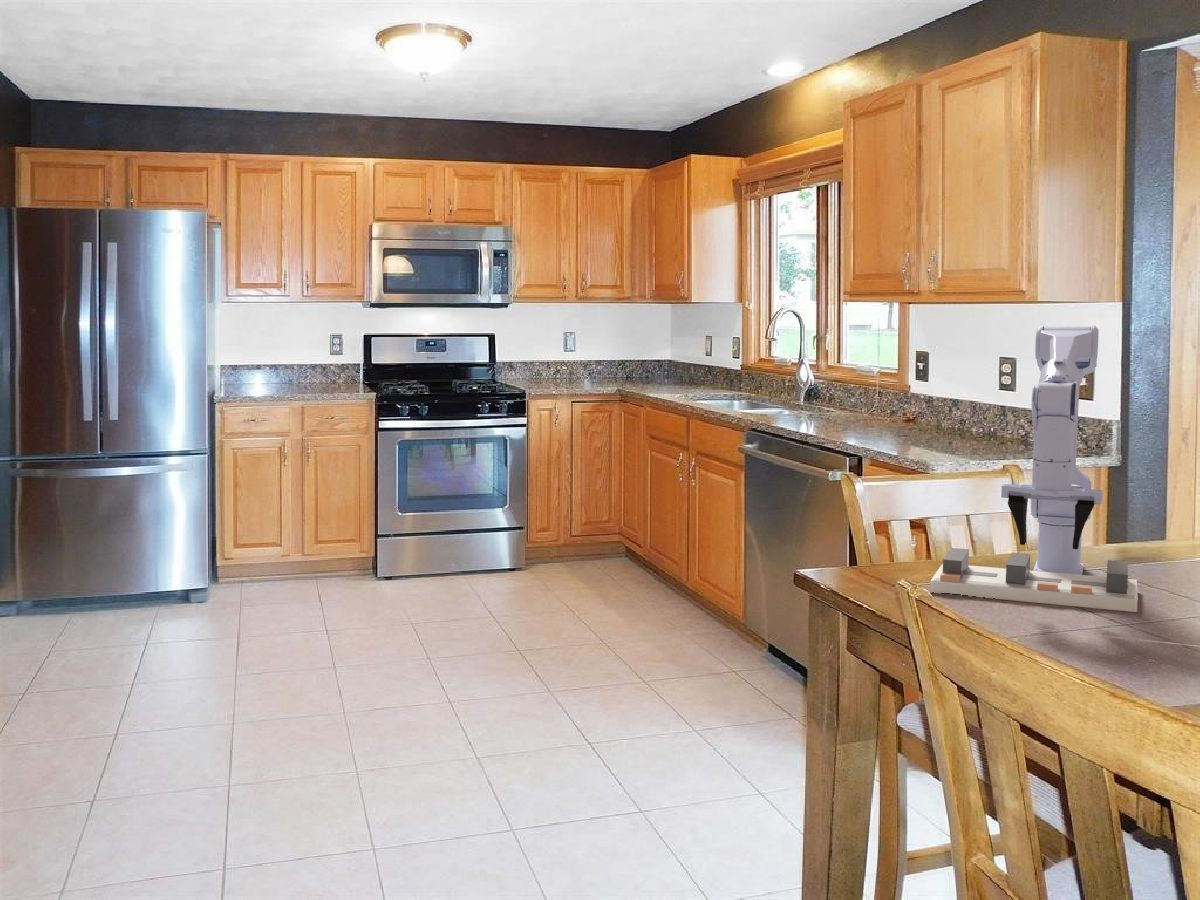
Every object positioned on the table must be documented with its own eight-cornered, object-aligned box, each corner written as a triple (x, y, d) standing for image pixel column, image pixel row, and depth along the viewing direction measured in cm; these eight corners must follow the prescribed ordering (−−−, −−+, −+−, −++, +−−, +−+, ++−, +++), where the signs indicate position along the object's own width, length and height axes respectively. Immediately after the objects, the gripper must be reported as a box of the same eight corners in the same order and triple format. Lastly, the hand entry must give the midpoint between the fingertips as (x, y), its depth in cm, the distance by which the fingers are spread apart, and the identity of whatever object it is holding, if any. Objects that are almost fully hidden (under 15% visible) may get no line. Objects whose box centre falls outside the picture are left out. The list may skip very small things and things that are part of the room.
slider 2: (1106, 577, 185) (1107, 560, 184) (1126, 579, 183) (1127, 561, 183) (1105, 591, 176) (1106, 573, 175) (1126, 593, 174) (1127, 574, 174)
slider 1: (950, 564, 195) (951, 547, 195) (968, 566, 194) (969, 549, 194) (942, 576, 186) (942, 559, 186) (961, 578, 185) (961, 561, 185)
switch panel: (942, 574, 197) (942, 557, 197) (1136, 591, 184) (1137, 573, 184) (930, 592, 184) (930, 574, 184) (1137, 612, 171) (1138, 593, 171)
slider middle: (1011, 569, 191) (1011, 552, 191) (1029, 571, 190) (1030, 554, 189) (1005, 582, 182) (1006, 564, 182) (1025, 584, 181) (1025, 566, 180)
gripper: (999, 460, 172) (996, 546, 174) (1102, 465, 165) (1097, 555, 167) (1006, 455, 178) (1003, 538, 180) (1105, 459, 171) (1101, 546, 173)
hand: (1049, 545), depth 174 cm, fingers open, 7 cm apart
